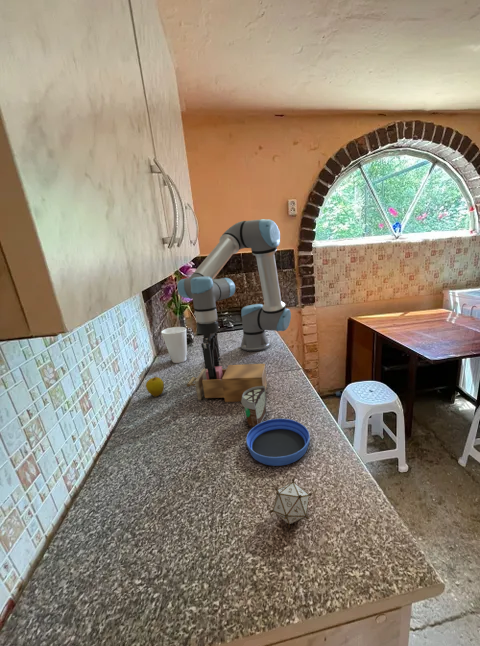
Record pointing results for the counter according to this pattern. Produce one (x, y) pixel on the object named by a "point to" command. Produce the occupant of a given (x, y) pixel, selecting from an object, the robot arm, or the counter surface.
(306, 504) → the game die
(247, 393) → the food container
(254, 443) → the bowl
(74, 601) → the counter surface
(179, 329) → the cup
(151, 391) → the apple
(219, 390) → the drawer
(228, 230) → the robot arm
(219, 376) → the block
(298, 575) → the counter surface
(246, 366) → the cabinet
